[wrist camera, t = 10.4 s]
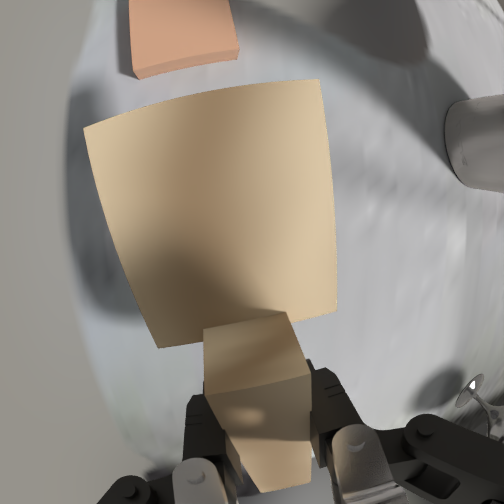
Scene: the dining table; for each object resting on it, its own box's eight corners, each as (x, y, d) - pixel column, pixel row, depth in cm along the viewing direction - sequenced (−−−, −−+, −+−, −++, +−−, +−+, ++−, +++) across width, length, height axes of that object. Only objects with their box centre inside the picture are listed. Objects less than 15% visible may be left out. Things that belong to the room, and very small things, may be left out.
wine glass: (447, 415, 32) (493, 468, 17) (465, 380, 30) (521, 433, 15) (474, 400, 33) (518, 444, 18) (491, 366, 31) (542, 410, 16)
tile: (236, 61, 17) (220, -12, 15) (239, 49, 15) (221, -27, 12) (140, 81, 16) (134, 5, 14) (133, 71, 14) (128, -9, 12)
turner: (306, 84, 7) (373, 59, 4) (323, 423, 14) (341, 472, 11) (97, 127, 6) (25, 132, 3) (222, 444, 13) (229, 497, 10)
